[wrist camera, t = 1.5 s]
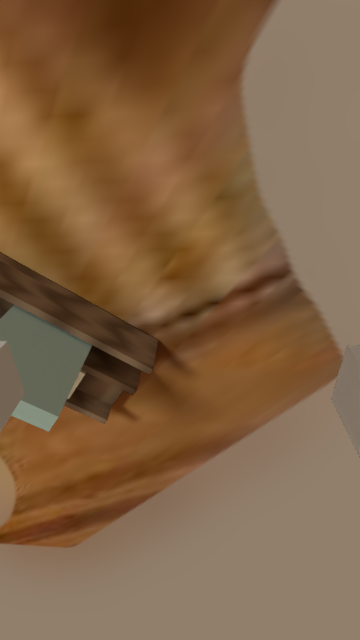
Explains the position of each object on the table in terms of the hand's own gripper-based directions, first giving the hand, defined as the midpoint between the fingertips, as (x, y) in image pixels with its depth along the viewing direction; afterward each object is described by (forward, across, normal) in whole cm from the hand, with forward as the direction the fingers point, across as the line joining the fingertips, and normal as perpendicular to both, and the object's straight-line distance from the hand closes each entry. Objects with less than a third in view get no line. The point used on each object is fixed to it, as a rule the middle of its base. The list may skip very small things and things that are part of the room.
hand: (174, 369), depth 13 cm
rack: (+28, -19, -17) cm, 38 cm away
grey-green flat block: (+27, -17, -13) cm, 34 cm away
